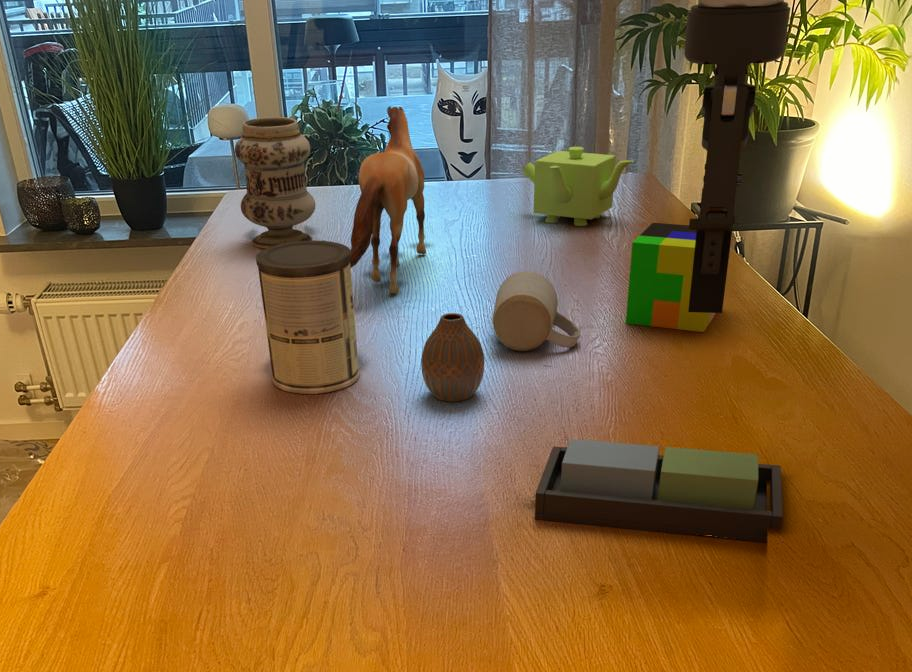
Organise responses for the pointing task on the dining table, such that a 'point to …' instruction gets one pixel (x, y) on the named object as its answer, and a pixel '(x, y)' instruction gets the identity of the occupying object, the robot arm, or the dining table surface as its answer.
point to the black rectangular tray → (660, 507)
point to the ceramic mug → (530, 313)
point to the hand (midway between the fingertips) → (707, 286)
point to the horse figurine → (388, 196)
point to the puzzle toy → (663, 279)
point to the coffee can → (309, 315)
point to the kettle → (574, 184)
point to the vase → (452, 360)
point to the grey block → (610, 469)
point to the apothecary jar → (275, 179)
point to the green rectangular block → (709, 478)
